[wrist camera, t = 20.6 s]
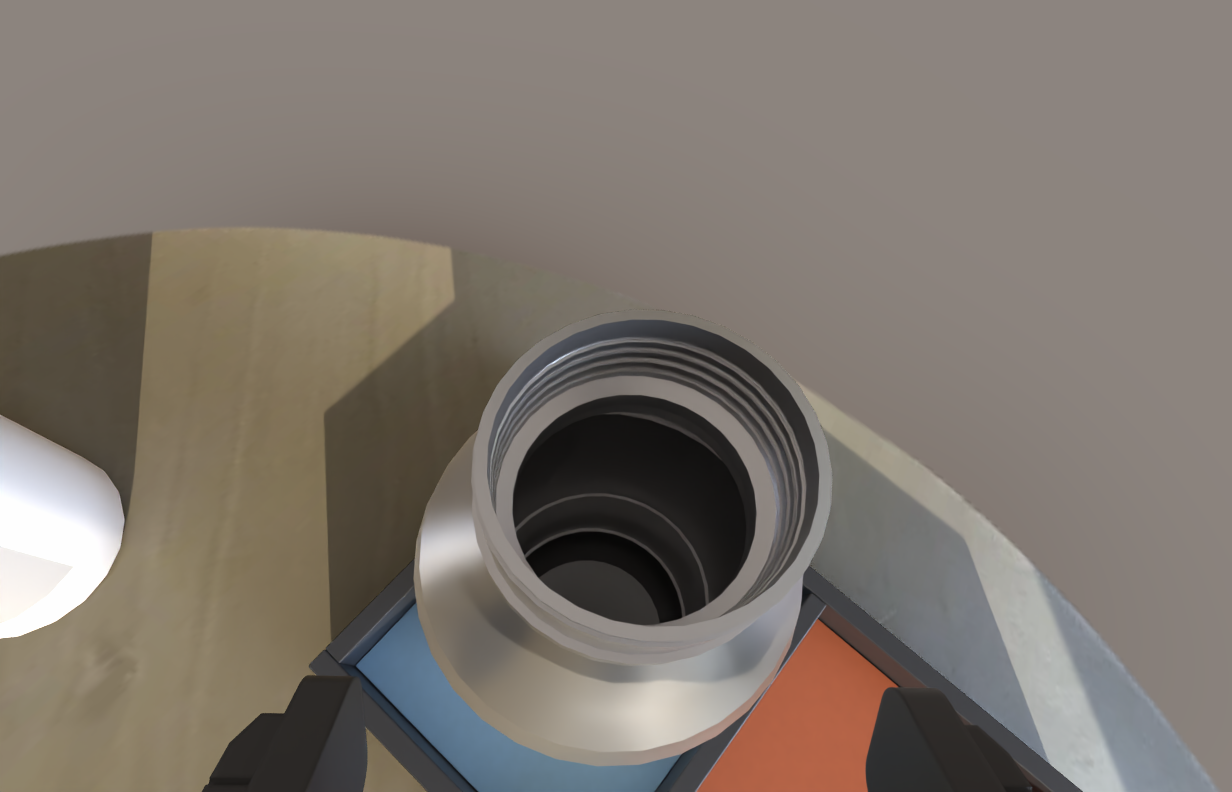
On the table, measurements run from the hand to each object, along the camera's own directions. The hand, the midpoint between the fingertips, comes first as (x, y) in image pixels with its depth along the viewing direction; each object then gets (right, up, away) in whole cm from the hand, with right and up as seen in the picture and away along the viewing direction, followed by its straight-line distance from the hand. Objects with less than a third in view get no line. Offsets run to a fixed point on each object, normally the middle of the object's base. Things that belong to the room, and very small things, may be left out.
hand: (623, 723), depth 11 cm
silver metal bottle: (-1, -4, +15) cm, 15 cm away
